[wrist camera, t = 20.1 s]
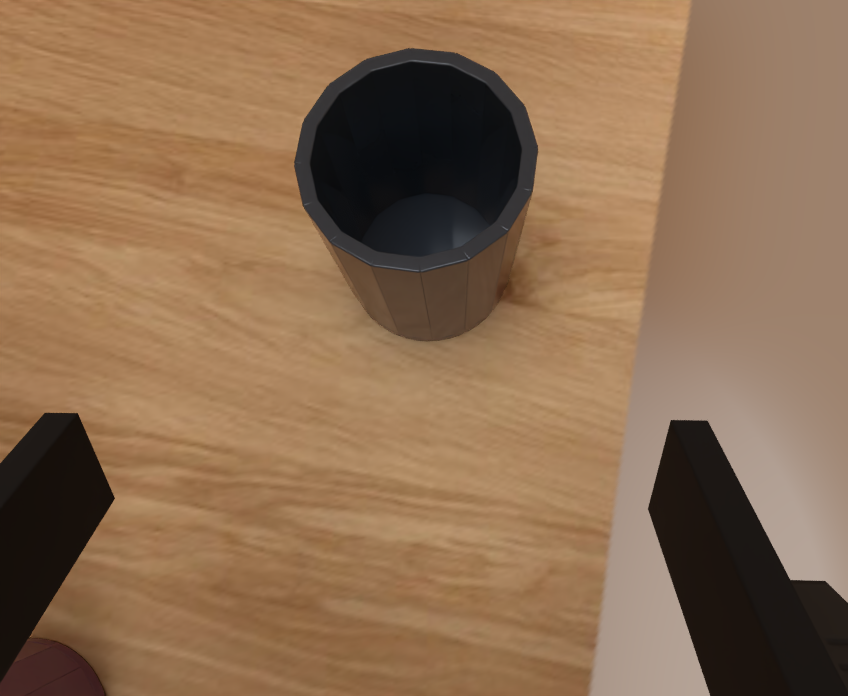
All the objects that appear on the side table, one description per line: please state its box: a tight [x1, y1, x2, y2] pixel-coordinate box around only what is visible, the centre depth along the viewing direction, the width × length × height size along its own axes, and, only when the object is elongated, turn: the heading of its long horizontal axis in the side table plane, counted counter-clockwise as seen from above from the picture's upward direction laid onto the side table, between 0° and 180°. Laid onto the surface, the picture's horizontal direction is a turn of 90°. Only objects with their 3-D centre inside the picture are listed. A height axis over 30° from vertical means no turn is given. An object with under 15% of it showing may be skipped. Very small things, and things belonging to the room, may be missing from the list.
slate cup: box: [294, 48, 538, 341], centre depth 24 cm, size 7×7×10 cm
